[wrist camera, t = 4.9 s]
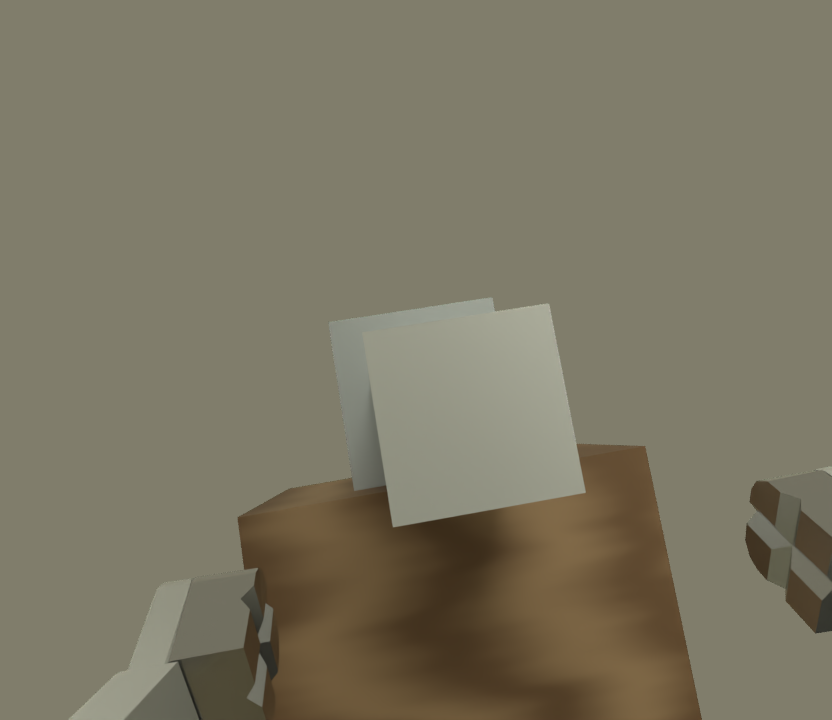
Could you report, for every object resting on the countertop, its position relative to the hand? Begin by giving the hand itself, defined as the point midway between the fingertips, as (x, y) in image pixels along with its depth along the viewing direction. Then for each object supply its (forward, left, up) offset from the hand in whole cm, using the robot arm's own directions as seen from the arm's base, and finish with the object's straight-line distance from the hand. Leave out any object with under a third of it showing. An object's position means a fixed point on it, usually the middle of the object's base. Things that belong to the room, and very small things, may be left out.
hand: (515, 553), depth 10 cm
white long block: (0, +11, 0) cm, 11 cm away
